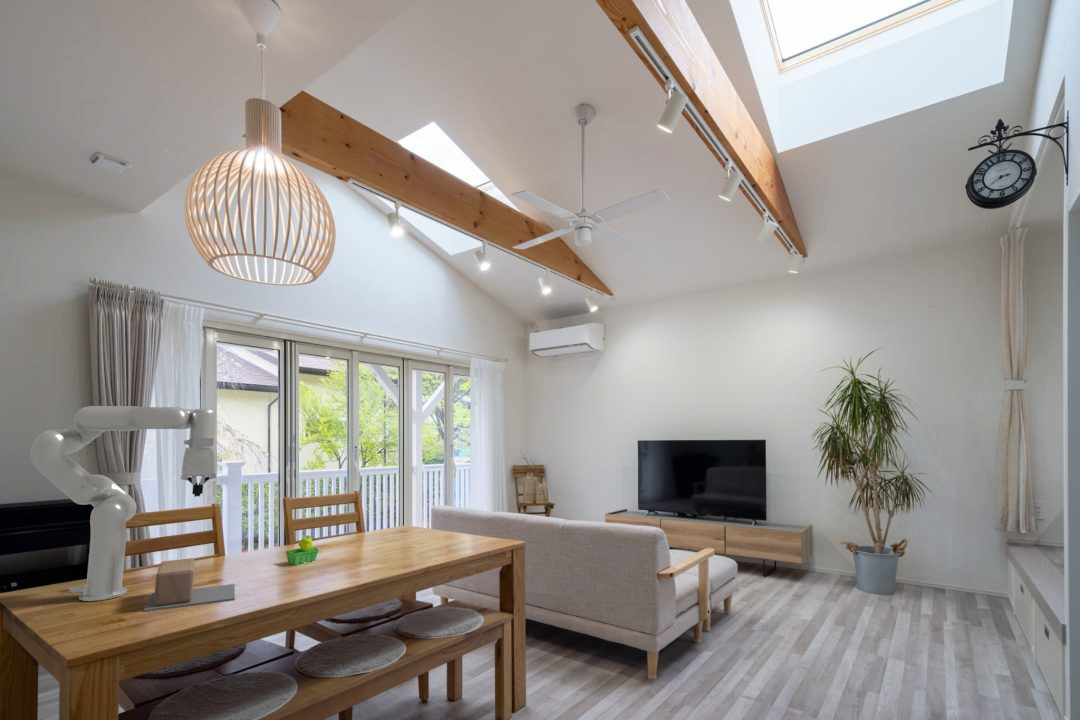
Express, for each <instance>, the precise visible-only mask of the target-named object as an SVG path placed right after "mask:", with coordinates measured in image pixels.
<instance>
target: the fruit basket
mask: <svg viewBox="0 0 1080 720" xmlns="http://www.w3.org/2000/svg"><path fill="white" fill-rule="evenodd" d="M313 545H314V543H313V541H312V536H311V535H308V534H307V535H305V536H304V537H302V539H301V540H300V541H299V542H298V547H299V548H296V549H290V550H285V554H286V558H287V562H288V564H289V563H291V564H290V565H292V564H294V565H293V566H296V565H295V564H299V563H304V562H310V561H315V562H316V559H317V557H318V553H319V551H320V549H319V548H316V547H313ZM310 563H311V562H310ZM304 564H305V563H304ZM299 565H300V564H299Z"/></svg>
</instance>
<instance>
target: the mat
mask: <svg viewBox="0 0 1080 720" xmlns="http://www.w3.org/2000/svg"><path fill="white" fill-rule="evenodd" d="M235 592H236V591H235V583H232V584H231V583H230V584H224V585H213V586H205V587H197V588H196V587H195V588H193V595H192V600H191V601H189V602H185V603H177V604H170V605H162V606H155V605H154V595H155V592H154V593H153V592H152V593H151V595H150V597H149V599H148V601H147V603H146V605H145V607H144V608H143V612H144V611H145V612H151V611H150V610H153V611H160V610H159V609H161V610H169V609H176V608H184V607H190V606H199V605H205V604H206V605H207V603H208V604H215V603H222V602H230V601H235V600H236V599H235V594H236V593H235Z"/></svg>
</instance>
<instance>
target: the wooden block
mask: <svg viewBox="0 0 1080 720" xmlns="http://www.w3.org/2000/svg"><path fill="white" fill-rule="evenodd" d="M195 565H196V560H195V558H181V559H173V560H164V561H161V562H160V564H159V566H158V569H157V573H156V575H155V584H154V585H155V586H154V593H155V595H154V605H155V606H162V605H170V604H177V603H185V602H189V601H191V600H192V595H193V589H194V583H195V581H194V579H195V569H196V568H195V567H196V566H195Z"/></svg>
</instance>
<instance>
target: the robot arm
mask: <svg viewBox="0 0 1080 720" xmlns="http://www.w3.org/2000/svg"><path fill="white" fill-rule="evenodd" d="M216 413H217V412H216V410H215V409H212V408H195V409H189V408H182V407H175V406H174V407H173V406H170V407H169V406H161V407H160V406H134V405H129V406H127V405H122V406H120V405H119V406H118V405H113V406H112V405H108V406H107V405H88V406H85V407H82V408H80V409H79V410H77V412H75V414H74V421H73V423H72V424H71V425H69V426H67V427H66V428H65V429H64V428H62V429H60V428H58V429H57V428H55V429H49V430H45V431H44V432H42V433H40V434H39V435H38V436H37V437H36V438H35V440H34V441H33V443H32V445H31V450H30V459H31V461H32V464H33V466H34V467H35V468H36V469H37V470H38V471H39V472H40V474H42V475H43V476H44V478H46V479H48V480H49V481H50V482H51V483H52V484H53V485H54V486H55V487H56V488H57V489H59V490H60V491H61V492H62V493H63V494H65V496H66V497H68V498H69V499H70V500H71V501H73V503H75V504H77V505H91V506H92V507H93V509H92V510H91V512H90V517H89V519H90V520H89V524H90V540H89V541H90V542H89V553H88V564H87V574H86V577H87V578H86V582H85V583H84V584H81V585H75V586H69V589H68V594H78V593H81V594H79V595H78V599H79V601H81V600H82V602H95V601H104V600H110V599H114V598H119V597H122V596H125V595H126V594H127V593H128V588H126V587H123V578H124V566H125V557H126V556H125V555H126V554H125V553H126V544H127V524H126V522H128V521H130V520H131V519H132V518H133V517H134V516H135V515H136V513H137V509H138V507H137V506H138V505H137V503H136V501H135V499H134V498H133V497H132V496H131V495H130V494H128V493H127V492H126V491H125V490H124V489H123V488H122V487H120V486H119V485H118V484H117V483H116V482H115V481H114V480H112V479H111V478H110V477H107V476H106V475H103V474H91V473H90V472H88V471H87V470H86V469H84V468H83V467H82V466H81V465H80V464H79V463H78V462H76V461H75V460H73V459H72V458H71V457H69V456H68V455H71V454H74V453H76V452H78V451H80V450H82V449H83V448H84V447H86V446H87V445H89V444H90V443H91V442H93V441H94V440H95V439H97V438H99V436H101V435H102V434H103V433H105V432H133V431H134V432H136V431H139V430H186V429H189V438H188V439H187V440H184V445H187V446H188V447H186V448H185V450H184V454H183V461H182V467H181V476H180V480H184V481H188V482H189V483H190V484H191V485H192V492H191V493H192V495H193V496H194V497H201V495H202V494H203V491H204V490H203V489H204V484H205V483H207V482H208V481H209V480H214V479H216V478H217V473H216V470H217V450H216V447H214V445H215V444H214V443H215V442H214V441H215V429H216V427H215V426H216V417H217V416H216V415H217V414H216ZM197 477H201V478H200V482H199V483H198V480H197Z"/></svg>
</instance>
